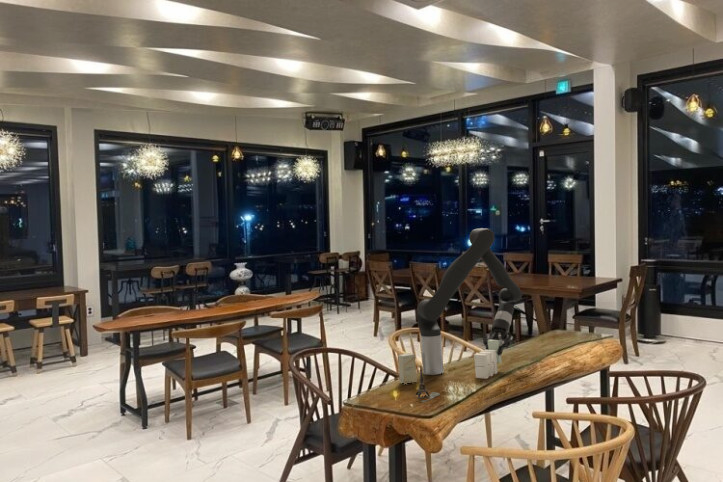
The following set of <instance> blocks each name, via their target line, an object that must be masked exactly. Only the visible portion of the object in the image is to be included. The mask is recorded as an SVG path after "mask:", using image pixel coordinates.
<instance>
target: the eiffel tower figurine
mask: <svg viewBox="0 0 723 482" xmlns="http://www.w3.org/2000/svg"><path fill="white" fill-rule="evenodd" d="M419 369H420V370H419V371H420V375H419V376H420V377H419V380H420V381H419V386H418V388H417V391H416V392H415V394H414V395H415V396H416V395H418V397H416V398H418V399H422V398H429V399H422V400H420V403H425V402H427V401H430V400H432V399H434V398H437V397H438V396H440V395H441V394H440V393H439V392H438V391H437V392H436V391H435V392H434V391H432V392H430V393H431V394H430V393H429V391H427V390H428V389H427V387H426V385H425V382H424V377H423V365H421V362H420V366H419ZM423 393H424V394H425V393H426V394H427V396H426V395H425V396H424V397H423V396H422V397H420V395H421V394H423ZM429 394H430V395H429Z"/></svg>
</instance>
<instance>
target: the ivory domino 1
mask: <svg viewBox="0 0 723 482" xmlns="http://www.w3.org/2000/svg"><path fill="white" fill-rule="evenodd" d="M473 357H474V367H475V368H474V369H475V378H477V379H489V377H490V376H488V364H487V354H479V353H474V356H473Z"/></svg>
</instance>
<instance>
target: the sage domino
mask: <svg viewBox="0 0 723 482" xmlns="http://www.w3.org/2000/svg"><path fill="white" fill-rule="evenodd" d="M499 346H500V340H489V339H488V349H489V350H496V359H497V364H501V363H502V354H501V355H500V356H499V355H498V354H497V351H498V348H499Z"/></svg>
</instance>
